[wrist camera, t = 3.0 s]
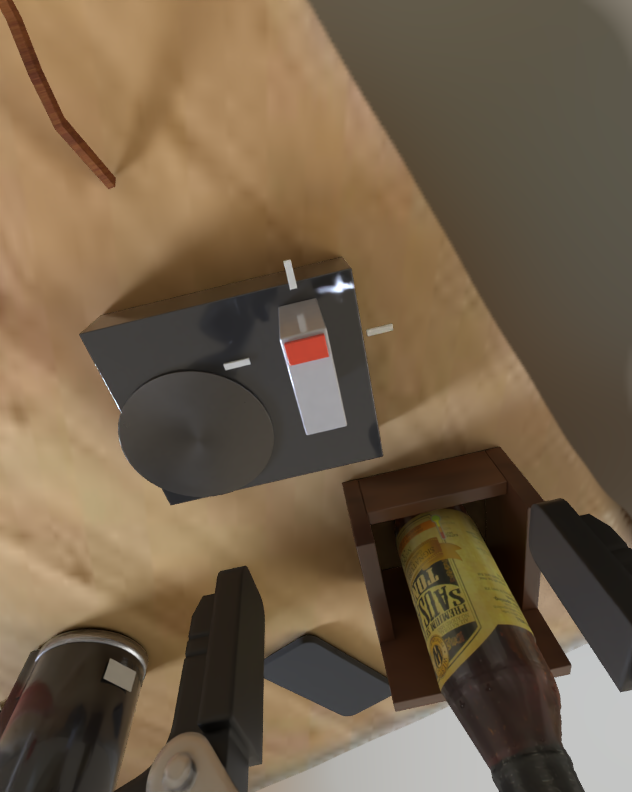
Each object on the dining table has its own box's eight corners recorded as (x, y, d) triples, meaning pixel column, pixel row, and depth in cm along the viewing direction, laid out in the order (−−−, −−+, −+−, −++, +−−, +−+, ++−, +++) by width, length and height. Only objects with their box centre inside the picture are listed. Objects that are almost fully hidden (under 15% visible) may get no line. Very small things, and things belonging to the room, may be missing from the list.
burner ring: (156, 507, 27) (155, 510, 26) (90, 391, 22) (89, 392, 22) (289, 477, 26) (289, 479, 26) (249, 353, 22) (249, 354, 22)
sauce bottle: (404, 485, 32) (565, 871, 14) (478, 495, 33) (707, 862, 16) (378, 545, 35) (485, 925, 17) (446, 551, 36) (610, 913, 18)
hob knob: (335, 382, 23) (348, 429, 19) (300, 391, 23) (306, 439, 19) (316, 297, 21) (327, 329, 17) (277, 306, 21) (279, 341, 17)
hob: (179, 475, 29) (170, 507, 26) (90, 296, 23) (65, 314, 20) (395, 425, 29) (408, 452, 26) (367, 228, 22) (381, 237, 20)
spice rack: (366, 582, 37) (395, 712, 28) (341, 482, 31) (369, 606, 22) (499, 553, 36) (570, 674, 28) (500, 446, 31) (590, 557, 22)
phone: (347, 718, 47) (252, 673, 40) (346, 710, 47) (252, 664, 41) (400, 691, 45) (309, 638, 38) (398, 682, 45) (308, 630, 39)
